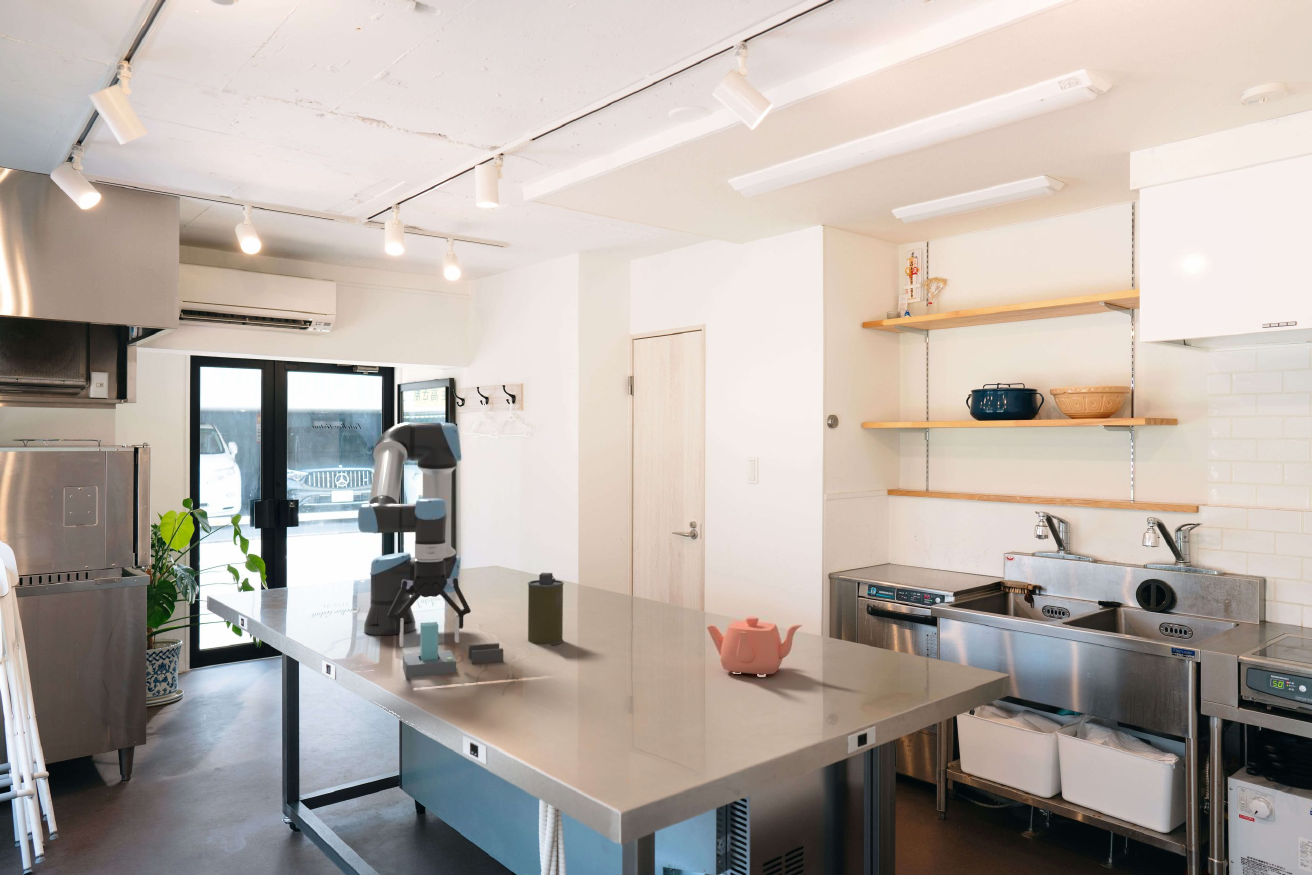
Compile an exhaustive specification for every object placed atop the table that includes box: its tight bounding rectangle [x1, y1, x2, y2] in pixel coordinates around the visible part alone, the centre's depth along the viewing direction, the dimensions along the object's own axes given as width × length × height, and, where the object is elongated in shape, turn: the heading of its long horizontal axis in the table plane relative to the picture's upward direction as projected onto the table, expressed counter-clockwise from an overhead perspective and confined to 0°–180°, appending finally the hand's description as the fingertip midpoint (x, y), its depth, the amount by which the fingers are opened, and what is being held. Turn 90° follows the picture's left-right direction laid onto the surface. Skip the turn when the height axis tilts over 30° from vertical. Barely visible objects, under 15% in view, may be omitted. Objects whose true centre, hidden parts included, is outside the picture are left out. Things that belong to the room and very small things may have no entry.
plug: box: [419, 621, 439, 661], centre depth 212 cm, size 4×4×12 cm
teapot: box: [706, 616, 803, 675], centre depth 214 cm, size 18×18×14 cm
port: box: [402, 649, 457, 681], centre depth 212 cm, size 12×12×4 cm
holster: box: [467, 642, 504, 665], centre depth 222 cm, size 7×8×4 cm
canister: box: [527, 572, 565, 646], centre depth 245 cm, size 11×10×20 cm
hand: (429, 643), depth 212 cm, fingers open, 13 cm apart
